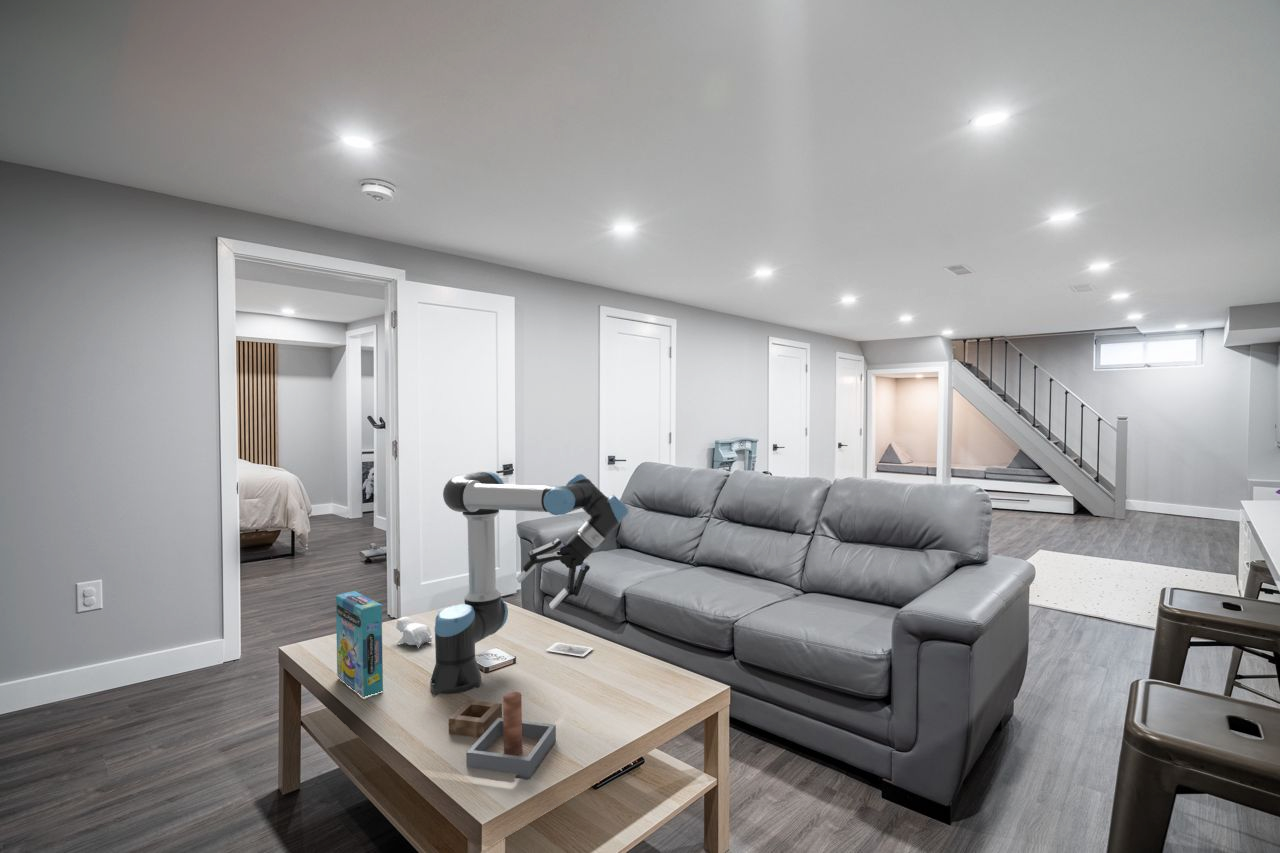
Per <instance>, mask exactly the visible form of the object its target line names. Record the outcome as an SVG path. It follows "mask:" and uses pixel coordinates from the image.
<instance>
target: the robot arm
mask: <svg viewBox="0 0 1280 853" xmlns="http://www.w3.org/2000/svg"><path fill="white" fill-rule="evenodd" d="M442 497H443V501H444V504H445V505H446V506H447V508H449V509H450V510H452V511H454V512H456V513H457V512H458V513H462V516H464V517H465V519H467V549H468V550H467V551H468V552H467V553H468V554H467V555H468V556H467V557H468V558H467V559H468V592H467V593H466V594H465V595H464V603H460V604H455V605H450V606H448V607H445V608H443V609H442V610H441V611H439V612H438V613H437V615H436V617H435V620H434V621H435V622H434V644H435V645H434V646H435V647H434V648H435V665H434V669H433V672H432V675H431V678H430V683H429V689H430V692H431V693H432V694H433V695H436V696H438V695H439V694H440V695H441V694H442V695H445V694H446V695H453V694H460V693H463V692H467V691H470V690H472V689H474V688H475V689H479V687H480V686H481V685H482V672H481V670H480V667H479V664H478V662H477V659H476V643H478V642H480V641H482V640H484V639H486V638H487V637H489V636H491V635H493V634H495V633H496V632H498V631H499V630H500V629H502V628H503V627H504V626H505V624H506V623H507V620H508V616H509V608H508V605H507V603H506V602H505V599H504V598H503V597H502V593H501V592H500V591H499V590H498V589H497V584H496V583H497V579H496V578H497V575H496V573H497V572H496V571H497V570H496V534H495V532H496V531H495V530H496V529H495V527H496V526H495V518H496V516H497V515H498V514H499V512H500V511H515V512H516V511H518V512H541V513H543V512H545V513H549V514H551V516H562V515H566V514H568V513H570V512H574V511H577V510H580V509H582V510H583V511H584V512H585V513H586V514H587V515H589V516H590V517H589V518H588V519H587V520H586V521H585V522H584V523H583V524H582V526H581V527H580V528H578V530H577V532H574V534H572V536H571V537H570V538H569V539H568V540H567V541H566V543H563V542H562V540H561V539H560V538H559V537H556V538H555V539H554V540H552V541H551V542H549V543H546V544H544V545H542V546H539V547H537V548H535V549H532V550H530V551H528V553H527V555H528V557H529V560H528V561H527V563H525V564H524V565H523V567H522V569H523V571H521V572H520V573H519V574H518V575H517V577H516V580H517V583H519V584H521V583H522V582H523V581H524V580H525V579H526V578H527V577H528V575H530V573H531V572H532V571H534V569H535V568H537V566H536V565H537V564H541V563H546V562H550V561H551V562H552V561H559V562H560V563H561V564H563V565H565V567H566V568H567V569H568V577H567V584H566V585H567V586H566V588H565V587H564V588H562V590H560V591H559V593H558V594H557V595H556V596H555V597H554V598H553V599H552V600H551V601H550V602H549V603H548V605H549V608H550V609H551V611H553V610H554V609H555V608H556V607H557V606H558V605H559V604H560V603H561V602H562V603H563V602H565V601H566V600H567V599H568V598H569V597H570V596H575V597H578V596H579V593H580V591H581V589H582V585H583V584H584V580H585V577H586V574H587V572H588V571H589V570H590V569H591V567H590V565H589V564H588V562H585V560H586V559H587V558H588V557H589V556H590V555H591V554H592V553H593V552H594V548H597V547H598V546H599V545H600V544H602V542H603V541H604V540H605V539H606V538H607V537H608V536H609V535H610V534H611V533H612V532H613V531H614V530H615V529H616V527H617V526H619V525H620V524H621V523H622V521H623V520H624V518H625V517H626V516H627V515H628V514H629V508H628V507H627V506H626V505H625V504H624V503H623V502H622V501H621V500H620V499H618V498H617V496H616V495H614V494H612V495H610V496H606V495H605V494H604V493H603V492H602V491H601V490H600V489H599V488H598V487H597V486H596V485H595V484H594V483H593V482H592V481H591V480H590V479H589V478H587V477H586V476H585V475H583V473H577V474H575V476H573V477H572V478H570V480H568V482H567V483H566V485H561V486H560V485H533V484H531V485H530V484H505V483H504V481H503V479H502V478H501V477H500V476H499V475H498V474H496V473H495V472H492V471H477V472H471V473H466V474H458V475H456V476H453V477H452V478H450V479H449V480H448V481H447V483H445V485H444V488H443V493H442ZM555 549H559V550H558V551H554V552H552V553H551V551H553V550H555ZM548 552H550V553H548ZM577 567H580V569H579V572H578V574H577V577H576V580H575V576H576V573H577Z"/></svg>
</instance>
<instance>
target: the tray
mask: <svg viewBox="0 0 1280 853" xmlns="http://www.w3.org/2000/svg"><path fill="white" fill-rule="evenodd" d="M500 735H504V724H503V717H502V718H498V719H497V720H496V721H495V722H494V723H493V724H492V725H491V726H490V727H489V728H488V729H487V730H486V732H485V733H484V734H483V735H482V736H481V737H480V738H478V739H477V740H476V741H475V742H474V744H472V746H471V747H470V748H469V749H468V750H467V751H466V752H465V753H466V756H465V757H466V768H471V769H473V768H474V769H480V770H486V771H487V770H488V771H494V772H500V773H509V774H516V776H515V779H521V778H522V779H523V780H528V779H530V780H532V778H533V776H534V775H533V774H535V773H536V772H537V770H538V768H539V767H540V766H541V764H542V762H544V760H545V758H546V757H547V756H548V754H549V753H550V751H551V750H552V749H553V747H554V746H555V744H556V742H557V725H556V724H553V723H544V722H537V721H526V720H522V738H530V739H538V741H537V743H536V745H535V746H534V747H533V748H532V750H531V751H530V753H529V754H528V755H527V756H522V755H518V756H515V755H507V754H504V753H498V752H491V751H487V750H488V749H489V748H490V747H491V745H492V744H493V743H494V742H495V741H496V739H498V738H499V736H500ZM531 777H532V778H531Z"/></svg>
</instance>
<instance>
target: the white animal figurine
mask: <svg viewBox="0 0 1280 853" xmlns="http://www.w3.org/2000/svg"><path fill="white" fill-rule="evenodd" d="M395 626H396V629H397V630H398V631H399V632H400V633H402V637H401V638H400V639H399V640H398V642H397V644H398V643H400V644H402V645H403V644H406V643H407V645H409V646H416V648H417V647H420V648H421V645H423V644H425V643H427V642H428V643H427V644H429V642H431V643H432V641H433V640H432V639H433V636H432V632H431V629H430V627H429V626H428V625H426V624H423V623H418V622H414V623H413V621H412V620H411V617H408V616H403V617H399V619H397V620H396V625H395ZM422 643H423V644H422Z"/></svg>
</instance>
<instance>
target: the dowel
mask: <svg viewBox="0 0 1280 853" xmlns="http://www.w3.org/2000/svg"><path fill="white" fill-rule="evenodd" d="M522 704H523V703H522V693H521V692H519V691H508V692H506V693H504V694H503V696H502V718H503V724H504V734H503V754H507V755H515V756H521V754H522V753H523V737H522V721H523V716H522V715H523V713H522V710H523V709H522V708H523V707H522V706H523V705H522Z"/></svg>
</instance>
